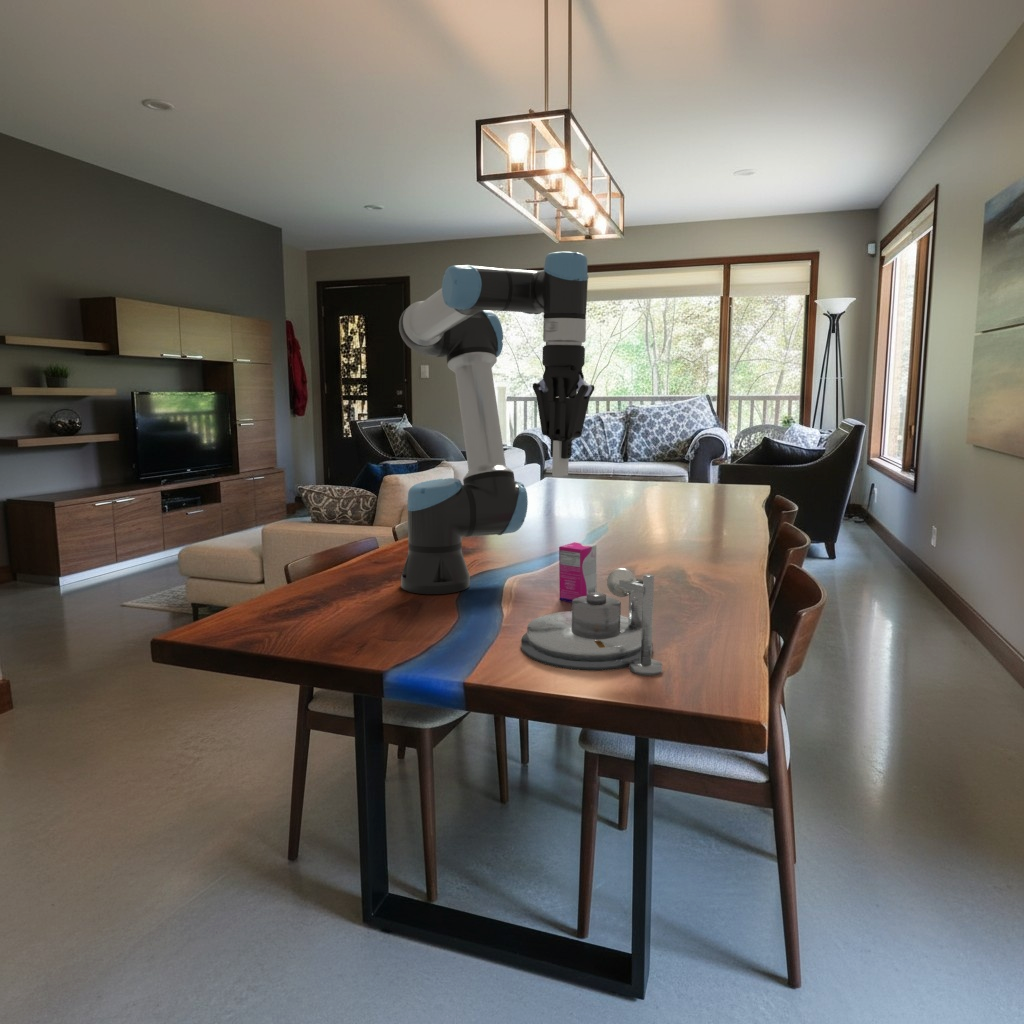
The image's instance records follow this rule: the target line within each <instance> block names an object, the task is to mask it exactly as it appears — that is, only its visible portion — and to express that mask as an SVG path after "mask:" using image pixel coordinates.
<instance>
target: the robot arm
mask: <svg viewBox="0 0 1024 1024" xmlns="http://www.w3.org/2000/svg"><path fill="white" fill-rule="evenodd" d="M588 282H589V275H588V258H587V256H586V255H585V254H584V253H581V252H577V251H575V252H574V251H555V252H549V253H548V254H546V256H545V259H544V266H543V269H542V270H531V269H530V270H529V269H528V270H527V269H517V268H502V267H501V268H500V267H491V266H490V267H489V266H481V265H480V266H479V265H470V264H462V265H461V264H460V265H459V264H457V265H456V264H455V265H451V266H449V267H447V268H446V270H445V273H444V275H443V277H442V283H441V288H439V289H438V290H437V291H435V292H434V293H433V294H431V295H430V296H429V297H427V298H426V299H425V300H419V301H415V302H413V303H412V304H410V305H409V306H408V307H406V308H405V310H404V311H403V312H401V316H400V318H399V322H398V323H399V324H398V329H399V330H398V331H399V334H400V336H401V337H400V338H402V341H403V342H404V343H405V345H406V346H407V347H408V348H409V349H411V350H412V351H414V352H416V353H417V354H419V355H423V356H425V357H433V358H446V365H447V368H448V369H449V370H450V371H452V372H453V373H454V375H455V382H456V390H457V396H458V403H459V404H458V405H459V411H460V418H461V419H460V420H461V425H462V433H463V440H464V446H465V447H464V449H465V455H466V460H467V461H466V462H467V468H468V469H467V473H466V474H465V476H464V477H463V479H462V481H461V480H460V479H459V478H450V477H449V478H438V479H437V478H436V479H432V480H431V479H430V480H426V481H422V482H419V483H416V484H414V485H413V486H411V487H410V488H409V489H408V492H407V505H406V510H407V534H408V535H407V542H408V554H407V557H406V560H405V563H404V566H403V569H402V572H401V573H402V574H401V577H400V588H401V589H402V590H404V591H406V592H409V593H412V594H413V593H414V594H419V595H444V594H445V595H446V594H453V593H454V594H455V593H459V592H462V591H464V590H466V589H468V588H469V587H470V586H471V577H470V576H471V575H470V572H469V569H468V566H467V563H466V561H465V557H464V554H463V552H462V551H463V550H462V547H463V546H462V544H463V543H462V541H463V540H462V539H463V538H471V537H472V538H473V537H482V536H485V537H486V536H493V535H494V536H495V535H497V536H502V535H505V534H513V533H516V532H517V531H518V530H520V528H521V527H522V526H523V525H524V523H525V519H526V517H527V512H528V506H529V505H528V504H529V501H528V500H529V499H528V492H527V489H526V487H525V485H524V483H522V482H520V481H518V480H515V474H514V471H513V470H511V469H510V468H509V467H507V465H506V459H505V458H506V457H505V450H504V444H503V438H502V431H501V429H502V428H501V424H500V417H499V410H498V404H497V403H498V402H497V396H496V390H495V389H496V388H495V383H494V377H493V369H492V368H493V367H494V366H495V364H496V363H497V361H498V359H497V358H498V357H499V356H500V355H501V353H502V351H503V347H504V343H503V340H504V331H503V328H502V323H501V320H500V318H499V316H498V315H497V314H496V311H498V312H511V313H512V312H513V313H514V312H515V313H523V314H527V315H540V314H542V313H543V325H542V326H543V329H542V330H543V333H542V335H543V339H542V341H543V343H546V344H545V345H543V347H542V357H541V358H542V361H541V362H542V365H543V367H544V371H543V373H542V379H541V380H539V381H538V382H533V383H532V389H533V391H534V394H535V396H536V401H537V402H536V403H537V409H538V416H539V422H540V428H541V434H542V435H543V436H546V437H547V438H549V439H550V451H549V453H550V457H551V458H552V471H551V473H552V474H551V477H557V478H562V477H568V476H569V459H571V457H572V447H573V446H572V444H573V442H572V441H573V440H575V439H578V438H581V437H582V433H583V429H584V425H585V424H584V423H585V420H586V416H587V412H588V407H589V402H590V398H591V397H592V394H593V392H594V391H595V385H594V384H589V383H587V382H586V380H585V377H584V374H583V373H584V372H583V367H584V366H585V364H586V363H585V362H586V361H585V359H586V358H585V357H586V347H585V346H584V345H582V344H583V343H585V342H587V341H586V339H587V338H586V336H587V335H586V334H587V333H586V332H587V331H586V330H587V329H586V328H587V319H586V318H587V304H588V301H587V300H588V284H589V283H588ZM494 311H495V312H494ZM462 482H463V483H462Z"/></svg>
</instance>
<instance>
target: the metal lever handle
mask: <svg viewBox="0 0 1024 1024" xmlns="http://www.w3.org/2000/svg"><path fill="white" fill-rule="evenodd" d="M636 579H637V578H636V576H635V574H634V573H633V572H632V571H631V570H630V569H628V568H626V567H618V568H616V569H614V570H613V571H610V573H609V574H608V576H607V578H606V585H607V588H608V591H610V592H611V594H612V595H614V596H616V597H619V598H623V597H627V596H628V597H629V594H630V593H632V592H633V591H638V592H642V593H643V602H642V635H641V658H638V659H634V660H631V661H630V664H629V667H628V669H629V671H630V672H631V673H632V674H633V675H637V676H643V677H654V676H659V675H660V674H662V672H663V663H662V662H661V661H659V660H656V659H654V658H652V655H651V653H652V654H653V652H652V644H653V620H654V619H653V617H654V616H653V615H654V591H655V590H654V589H655V588H654V587H655V585H654V583H655V575H653V574H643V575H642V580H643V584H640V583H636Z"/></svg>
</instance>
